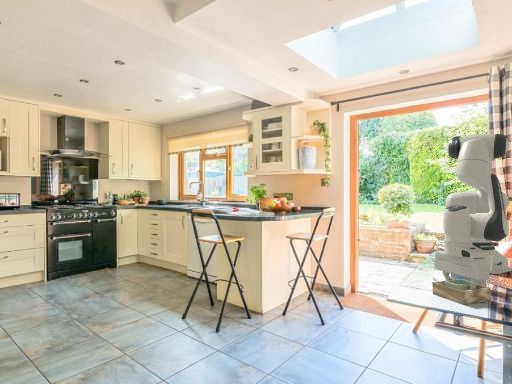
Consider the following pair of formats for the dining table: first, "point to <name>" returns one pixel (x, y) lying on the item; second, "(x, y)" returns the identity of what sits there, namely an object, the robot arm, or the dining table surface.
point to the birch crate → (462, 293)
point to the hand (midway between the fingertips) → (460, 286)
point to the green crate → (458, 284)
